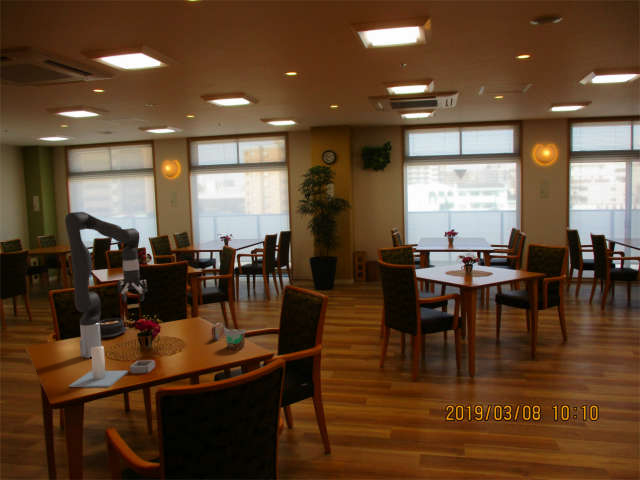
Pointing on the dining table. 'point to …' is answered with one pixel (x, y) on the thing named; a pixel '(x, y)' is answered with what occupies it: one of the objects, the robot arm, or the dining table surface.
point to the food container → (235, 338)
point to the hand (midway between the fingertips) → (133, 300)
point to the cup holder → (142, 366)
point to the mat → (105, 382)
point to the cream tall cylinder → (98, 362)
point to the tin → (218, 330)
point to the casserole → (111, 327)
